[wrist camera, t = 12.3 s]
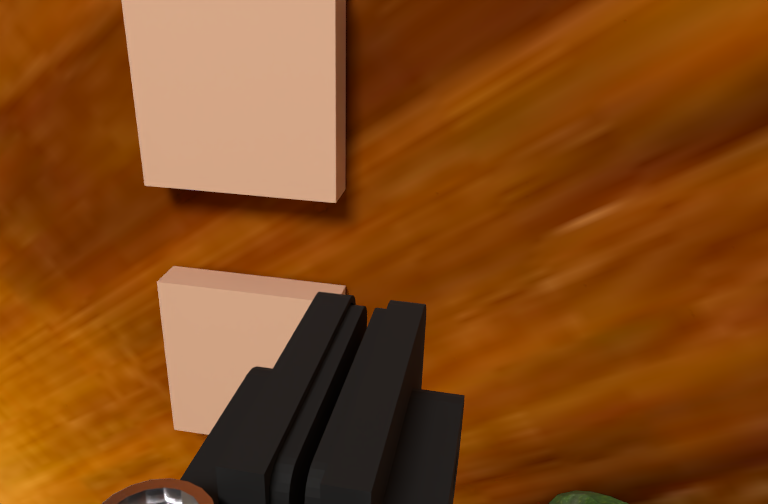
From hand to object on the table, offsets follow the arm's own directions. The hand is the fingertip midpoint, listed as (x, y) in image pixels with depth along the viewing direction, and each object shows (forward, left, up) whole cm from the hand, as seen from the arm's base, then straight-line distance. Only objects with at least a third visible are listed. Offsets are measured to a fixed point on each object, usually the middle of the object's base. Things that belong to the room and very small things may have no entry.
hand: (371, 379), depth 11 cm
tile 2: (+14, -5, -20) cm, 25 cm away
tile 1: (0, -5, -20) cm, 21 cm away
